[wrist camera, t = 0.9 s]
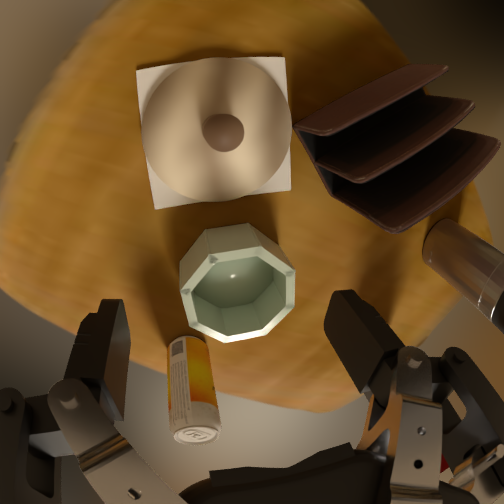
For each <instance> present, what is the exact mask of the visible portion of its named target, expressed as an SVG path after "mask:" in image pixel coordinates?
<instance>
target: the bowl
mask: <svg viewBox="0 0 504 504" xmlns="http://www.w3.org/2000/svg"><path fill="white" fill-rule="evenodd" d="M179 287H180V292H181V296H182V300H183V304H184V308H185V311H186V315H187V319H188V322H189V326H190V327H192V328H194V329H196V330H198V331H200V332H202V333H204V334H206V335H209V336H211V337H213V338H215V339H217V340H220V341H222V342H224V343H227V342H232V341H237V340H243V339H248V338H253V337H258V336H263V335H267V333H268V332H269V331H270V330H271V329H272V328H273V327H274V326H275V325H276V324H277V323H278V322H280V321H281V320H282V319H283V318H284V317H285V316H286V315H287V314H288V313H289V312H290V311H291V310H292V309H293V308H294V307H295V306H294V296H295V269H294V267H293V266H292V264H291V263H290V261H289V260H288V258H287V257H286V255H285V254H284V252H283V251H282V249H281V248H280V246H279V245H277V244H276V243H275V242H273V241H272V240H271V239H269V238H268V237H266V236H265V235H264V234H262V233H261V232H260V231H258V230H257V229H256V228H254V227H253V226H252V225H250V223H248V222H247V223H244V224H238V225H231V226H225V227H218V228H212V229H205V230H204V231H203V233H202V234H201V235H200V236H199V238H198V239H197V240H196V242H195V243H194V244H193V245H192V247H191V248H190V249H189V250H188V252H187V253H186V254H185V256H184V257H183V258H182V260H180V264H179Z"/></svg>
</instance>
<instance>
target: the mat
mask: <svg viewBox="0 0 504 504" xmlns="http://www.w3.org/2000/svg"><path fill="white" fill-rule="evenodd" d="M233 59H237V60H241V61H244V62H247V63H249V64H252V65H253V66H255V67H257V68H259V69H261V70H262V71H263V72H265V73H266V74H267V75H268V76H269V77H270V78H271V79H272V80H273V81H274V82H275V83H276V84H277V85H278V87H279V88H280V89H281V91H282V93H283V95H284V96H285V98H286V101H287V103H288V99H287V82H286V67H285V57H240V58H233ZM191 62H194V61H191ZM191 62H183V63H176V64H169V65H163V66H158V67H152V68H147V69H142V70H137V71H136V76H137V88H138V99H139V108H140V117H141V125H142V120H143V116H144V112H145V109H146V106H147V103H148V101H149V99H150V98H151V96H152V94H153V92H154V91H155V90H156V88H157V87H158V86H159V84H160V83H161V82H162V81H163V80H164V79H165V78H166V77H168V76H169V75H170V74H171V73H173V72H174V71H175V70H177V69H179V68H180V67H182V66H184V65H186V64H189V63H191ZM146 161H147V167H148V173H149V179H150V185H151V190H152V196H153V201H154V206H155V210H156V209H161V208H167V207H173V206H179V205H185V204H191V203H197V202H204V201H200V200H195V199H192V198H188V197H186V196H184V195H181V194H179V193H178V192H176V191H174V190H173V189H171V188H170V187H169V186H167V185H166V184H165V183H164V182H163V181H162V180H161V179H160V178H159V177H158V176H157V175H156V173H155V172H154V171H153V169H152V168H151V166H150V164H149V162H148V160H147V158H146ZM288 190H291V170H290V145H289V149H288V152H287V154H286V156H285V159H284V161H283V162H282V164H281V166H280V167H279V169H278V170H277V171H276V173H275V174H274V175H273V176H272V177H271V178H270V179H269V180H268V181H267V182H266V183H265V184H264V185H262V186H261V187H260V188H258V189H257V190H255V191H253V192H252V193H249V194H247V195H254V194H262V193H270V192H279V191H288ZM245 196H246V195H245Z"/></svg>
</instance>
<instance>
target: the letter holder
mask: <svg viewBox="0 0 504 504" xmlns="http://www.w3.org/2000/svg"><path fill="white" fill-rule="evenodd" d="M448 69H449V67H448V66H446V65H433V64H432V65H431V64H408V65H406V66H404V67H402V68H400V69H397V70H395V71H393V72H391V73H389V74H387V75H385V76H382V77H380V78H378V79H376V80H374V81H372V82H370V83H368V84H366V85H364V86H362V87H360V88H358V89H356V90H354V91H352V92H350V93H348V94H347V95H345V96H343V97H341V98H339V99H338V100H335V101H334V102H332V103H330V104H328V105H327V106H325V107H323V108H321V109H320V110H318V111H316V112H314V113H313V114H311V115H309V116H308V117H306V118H304V119H302V120H301V121H299V122H297V123H295V124H294V125H293V126H292V127H293V129H294V130H295V132H296V134H297V136H298V138H299V139H300V141H301V143H302V144H303V146H304V148H305V150H306V152H307V153H308V155H309V157H310V159H311V161H312V162H313V164H314V166H315V168H316V170H317V172H318V174H319V176H320V178H321V180H322V181H323V183H324V185H325V187H326V189H327V191H328V193H329V194H330V195H331V196H332V197H334V198H335V199H337V200H339V201H340V202H342V203H344V204H345V205H347V206H349V207H350V208H352V209H353V210H355V211H356V212H358V213H359V214H361V215H363V216H364V217H366V218H367V219H369V220H370V221H371V222H373V223H374V224H376V225H377V226H379V227H380V228H382V229H383V230H385V231H387V232H389V233H393V234H399V233H401V232H404V231H405V230H407V229H409V228H411V227H412V226H413V225H415V224H417V223H418V222H420V221H421V220H423V219H424V218H426V217H427V216H429V215H430V214H432V213H433V212H434V211H436V210H437V209H439V208H440V207H442V206H443V205H444V204H445V203H447V202H448V201H449V200H450V199H452V198H453V197H454V196H456V195H457V194H458V193H459V192H460V191H461V190H463V189H464V188H465V187H466V186H467V185H468V184H469V183H470V182H471V181H472V180H473V179H474V178H475V177H476V176H477V175H478V174H479V173H480V172H481V171H482V170H483V169H484V167H485V166H486V165H487V164H488V163H489V162H490V160H491V159H492V158H493V157H494V155H495V154H496V152H497V151H498V150H499V148H500V145H501V142H500V141H499V140H498V139H496V138H494V137H490V136H485V135H482V134H478V133H473V132H469V131H464V130H460V129H455V128H453V127H454V126H456V125H457V124H458V123H459V122H461V121H462V120H463V119H464V118H465V117H466V116H467V115H468V114H469V113H470V112H471V111H472V110H473V109H474V108H475V103H474V102H473V101H471V100H466V99H458V98H449V97H441V96H431V95H426V94H425V92H424V90H423V86H425V85H426V84H428V83H430V82H431V81H433V80H435V79H436V78H437V77H439V76H441V75H443V74H444V73H446V72H448Z"/></svg>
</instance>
